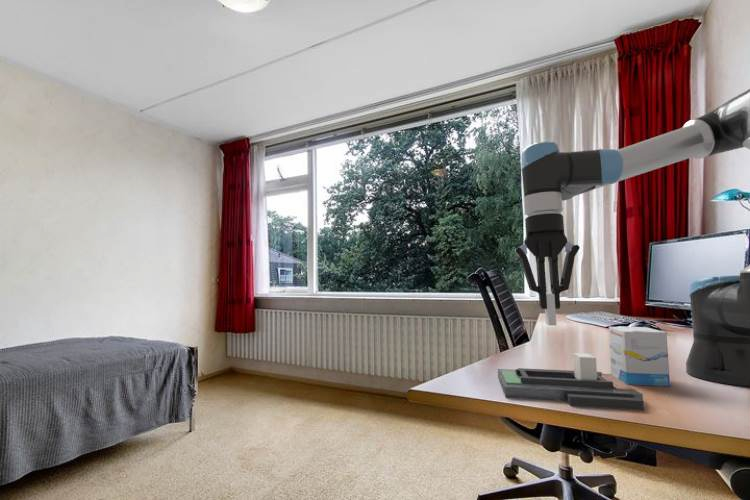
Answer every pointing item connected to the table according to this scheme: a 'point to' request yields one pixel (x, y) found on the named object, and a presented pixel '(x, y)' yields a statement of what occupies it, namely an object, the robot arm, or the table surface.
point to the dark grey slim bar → (552, 370)
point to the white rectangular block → (585, 366)
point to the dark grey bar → (605, 401)
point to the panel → (560, 385)
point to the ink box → (639, 355)
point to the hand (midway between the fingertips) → (551, 324)
